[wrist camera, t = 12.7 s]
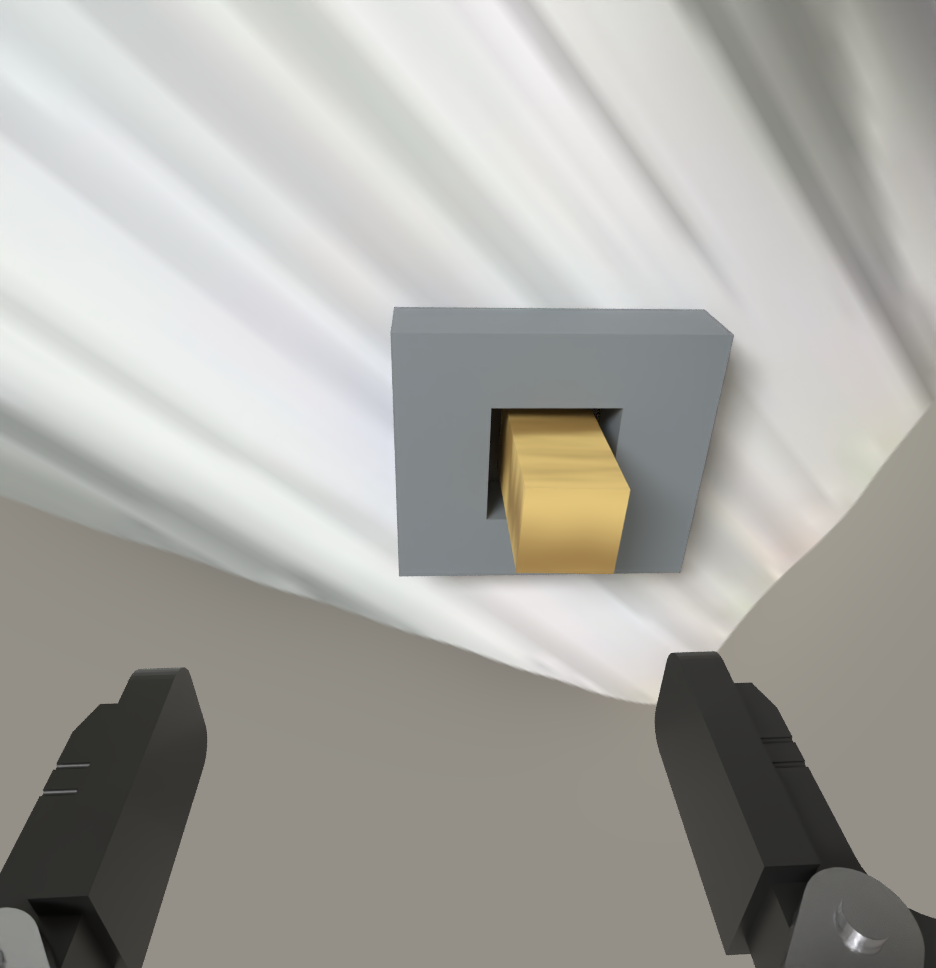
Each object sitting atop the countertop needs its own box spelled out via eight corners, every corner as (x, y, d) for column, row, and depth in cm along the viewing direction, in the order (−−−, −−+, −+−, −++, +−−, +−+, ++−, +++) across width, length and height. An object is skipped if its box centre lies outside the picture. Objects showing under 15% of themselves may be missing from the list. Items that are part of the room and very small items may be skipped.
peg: (503, 393, 38) (525, 488, 29) (584, 395, 38) (630, 489, 29) (497, 465, 40) (516, 572, 31) (574, 466, 40) (613, 573, 32)
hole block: (394, 307, 35) (390, 332, 32) (704, 309, 36) (734, 334, 32) (401, 535, 42) (399, 576, 39) (660, 532, 43) (680, 572, 40)
